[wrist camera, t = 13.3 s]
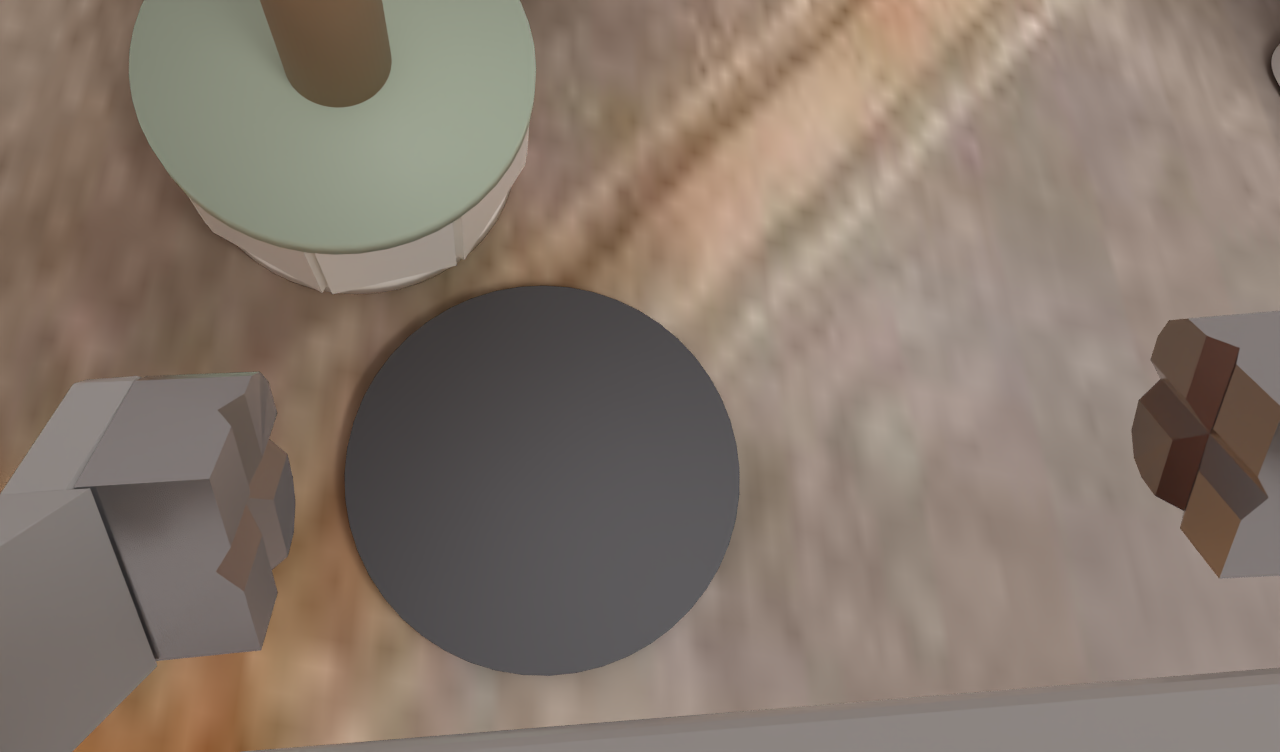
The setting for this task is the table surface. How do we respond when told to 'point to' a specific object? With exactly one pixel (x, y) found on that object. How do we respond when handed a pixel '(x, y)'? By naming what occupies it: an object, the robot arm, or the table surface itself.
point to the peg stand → (334, 112)
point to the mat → (542, 480)
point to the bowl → (384, 265)
